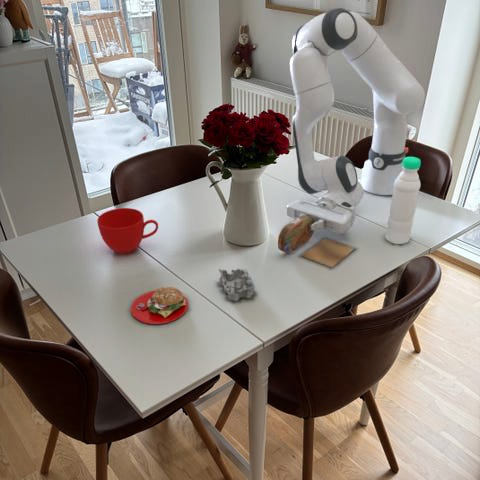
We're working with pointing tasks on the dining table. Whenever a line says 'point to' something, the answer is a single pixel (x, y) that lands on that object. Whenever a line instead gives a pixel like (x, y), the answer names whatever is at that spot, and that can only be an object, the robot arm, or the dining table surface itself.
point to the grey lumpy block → (237, 284)
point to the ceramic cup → (123, 229)
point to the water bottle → (404, 202)
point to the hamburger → (159, 306)
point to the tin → (295, 234)
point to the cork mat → (328, 252)
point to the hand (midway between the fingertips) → (304, 225)
